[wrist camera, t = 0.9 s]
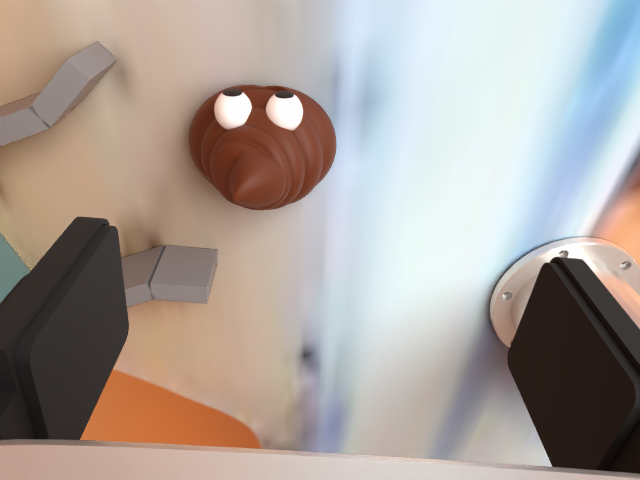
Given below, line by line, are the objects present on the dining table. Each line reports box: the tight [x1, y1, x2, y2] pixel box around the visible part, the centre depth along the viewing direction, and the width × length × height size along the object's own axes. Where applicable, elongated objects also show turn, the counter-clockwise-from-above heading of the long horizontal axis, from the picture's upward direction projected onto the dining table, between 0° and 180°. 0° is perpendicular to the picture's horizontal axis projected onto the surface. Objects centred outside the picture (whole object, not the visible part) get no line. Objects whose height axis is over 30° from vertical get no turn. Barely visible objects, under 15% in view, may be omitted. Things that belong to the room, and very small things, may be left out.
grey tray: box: [0, 41, 217, 307], centre depth 36 cm, size 18×17×5 cm
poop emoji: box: [189, 85, 336, 210], centre depth 32 cm, size 10×8×9 cm
